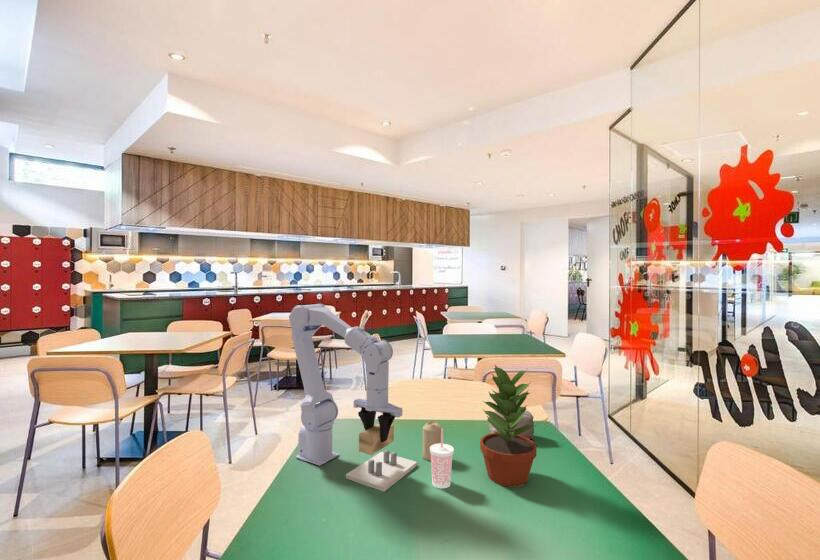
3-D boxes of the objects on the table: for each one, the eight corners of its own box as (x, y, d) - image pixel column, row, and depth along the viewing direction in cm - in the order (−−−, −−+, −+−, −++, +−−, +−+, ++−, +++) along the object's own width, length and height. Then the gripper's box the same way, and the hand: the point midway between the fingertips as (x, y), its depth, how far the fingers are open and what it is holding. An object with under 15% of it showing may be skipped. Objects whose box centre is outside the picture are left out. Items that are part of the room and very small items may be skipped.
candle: (440, 462, 113) (440, 427, 113) (421, 460, 114) (421, 425, 114) (442, 453, 119) (443, 420, 119) (424, 451, 120) (424, 418, 120)
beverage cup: (425, 486, 100) (426, 431, 100) (433, 475, 106) (434, 422, 105) (449, 492, 98) (450, 435, 97) (456, 480, 103) (457, 426, 103)
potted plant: (546, 475, 107) (548, 363, 106) (519, 498, 95) (521, 372, 95) (497, 457, 117) (499, 354, 116) (467, 476, 106) (469, 362, 105)
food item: (493, 442, 128) (494, 411, 128) (487, 432, 136) (488, 403, 136) (535, 442, 128) (536, 411, 128) (527, 432, 136) (527, 403, 136)
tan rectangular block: (371, 455, 100) (371, 437, 100) (358, 451, 103) (359, 433, 102) (393, 441, 109) (393, 424, 109) (381, 438, 111) (381, 421, 111)
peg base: (345, 478, 104) (345, 462, 104) (381, 455, 117) (381, 441, 117) (383, 491, 97) (384, 475, 97) (416, 465, 111) (417, 451, 111)
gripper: (346, 386, 106) (345, 437, 106) (391, 395, 98) (391, 450, 99) (362, 380, 112) (362, 429, 112) (407, 389, 104) (406, 441, 105)
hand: (376, 438), depth 106 cm, fingers closed on tan rectangular block, 4 cm apart
